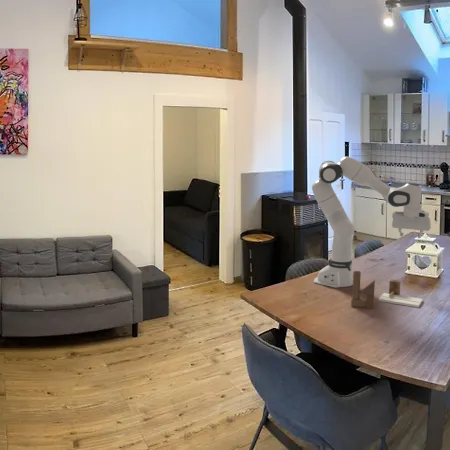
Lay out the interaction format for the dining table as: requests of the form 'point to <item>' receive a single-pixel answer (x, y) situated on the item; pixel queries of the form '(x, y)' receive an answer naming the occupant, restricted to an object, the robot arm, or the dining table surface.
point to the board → (401, 300)
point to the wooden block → (367, 290)
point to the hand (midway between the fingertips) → (410, 237)
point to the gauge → (394, 287)
